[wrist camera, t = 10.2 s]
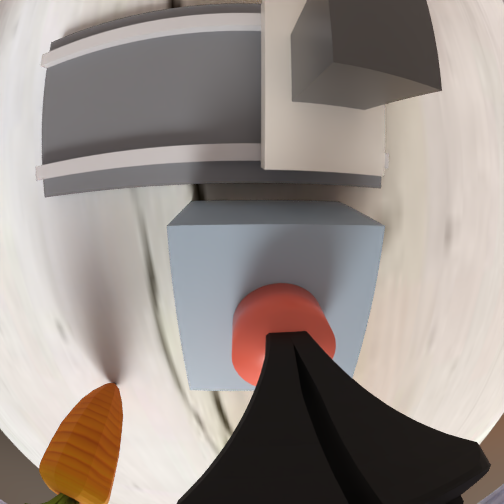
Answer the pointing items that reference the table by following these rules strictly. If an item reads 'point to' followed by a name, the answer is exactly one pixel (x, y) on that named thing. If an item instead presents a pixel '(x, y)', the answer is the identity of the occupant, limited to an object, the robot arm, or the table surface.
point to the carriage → (339, 79)
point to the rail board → (161, 104)
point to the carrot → (85, 450)
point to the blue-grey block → (268, 274)
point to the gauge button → (275, 324)
